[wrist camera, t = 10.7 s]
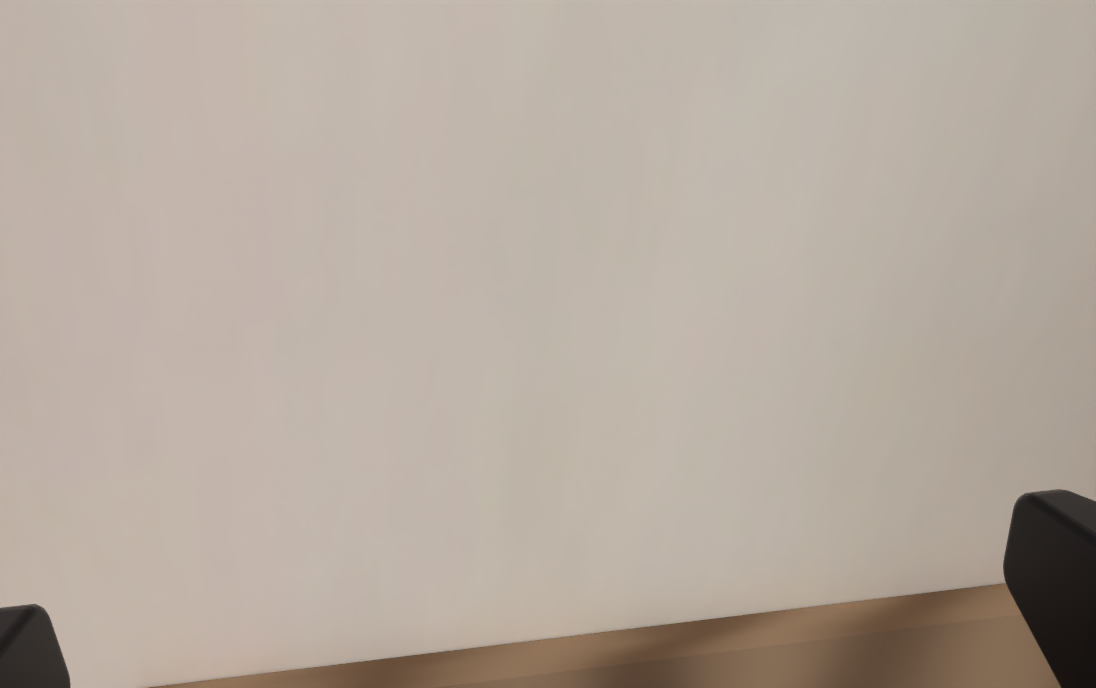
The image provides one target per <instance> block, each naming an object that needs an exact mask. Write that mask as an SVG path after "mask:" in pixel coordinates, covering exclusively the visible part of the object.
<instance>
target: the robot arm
mask: <svg viewBox="0 0 1096 688" xmlns="http://www.w3.org/2000/svg"><path fill="white" fill-rule="evenodd" d="M1003 570H1004V577H1005V581H1006V584H1007V587H1008V589H1009V591H1010V593H1011V595H1012V597H1013V599H1014V601H1015V603H1016V605H1017V606H1018V608H1019V610H1020V612H1021V614H1022V616H1023V618H1024V620H1025V621H1026V623H1027V625H1028V627H1029V629H1030V631H1031V633H1032V634H1033V636H1034V638H1035V640H1036V642H1037V644H1038V646H1039V648H1040V649H1041V651H1042V653H1043V655H1044V657H1045V659H1046V661H1047V662H1048V664H1049V666H1050V668H1051V670H1052V672H1053V674H1054V676H1055V677H1056V679H1057V681H1058V683H1059V685H1060V687H1061V688H1096V501H1093V500H1091V499H1088V498H1086V497H1083V496H1080V495H1078V494H1075V493H1073V492H1070V491H1067V490H1060V489H1058V490H1048V491H1040V492H1031V493H1025V494H1024V495H1022V496H1020V497H1019V498H1018V500H1017V501H1016V503H1015V505H1014V509H1013V514H1012V519H1011V524H1010V530H1009V535H1008V540H1007V545H1006V551H1005V556H1004V563H1003ZM0 688H70V677H69V673H68V670H67V667H66V664H65V661H64V658H63V655H62V652H61V649H60V646H59V643H58V640H57V637H56V634H55V631H54V628H53V625H52V623H51V620H50V617H49V615H48V613H47V612H46V611H45V609H44V608H43V607H41V606H38V605H36V604H30V605H21V606H12V607H3V608H0Z"/></svg>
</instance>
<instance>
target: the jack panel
mask: <svg viewBox="0 0 1096 688" xmlns="http://www.w3.org/2000/svg"><path fill="white" fill-rule="evenodd" d="M150 688H1061V687H1060V685H1059V683H1058V681H1057V679H1056V677H1055V676H1054V674H1053V672H1052V670H1051V668H1050V666H1049V664H1048V662H1047V661H1046V659H1045V657H1044V655H1043V653H1042V651H1041V649H1040V648H1039V646H1038V644H1037V642H1036V640H1035V638H1034V636H1033V634H1032V633H1031V631H1030V629H1029V627H1028V625H1027V623H1026V621H1025V620H1024V618H1023V616H1022V614H1021V612H1020V610H1019V608H1018V606H1017V605H1016V603H1015V601H1014V599H1013V597H1012V595H1011V593H1010V591H1009V589H1008V587H1007V584H1006V583H1005V584H997V585H988V586H980V587H972V588H964V589H955V590H947V591H939V592H931V593H923V594H914V595H906V596H898V597H890V598H882V599H873V600H865V601H857V602H849V603H840V604H832V605H824V606H816V607H808V608H799V609H791V610H783V611H775V612H766V613H758V614H750V615H742V616H734V617H725V618H717V619H709V620H701V621H693V622H684V623H676V624H668V625H660V626H651V627H643V628H635V629H627V630H619V631H610V632H602V633H594V634H586V635H578V636H569V637H561V638H553V639H545V640H536V641H528V642H520V643H512V644H504V645H495V646H487V647H479V648H471V649H462V650H454V651H446V652H438V653H430V654H421V655H413V656H405V657H397V658H389V659H380V660H372V661H364V662H356V663H347V664H339V665H331V666H323V667H315V668H306V669H298V670H290V671H282V672H274V673H265V674H257V675H249V676H241V677H232V678H224V679H216V680H208V681H200V682H191V683H183V684H175V685H167V686H158V687H150Z"/></svg>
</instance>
